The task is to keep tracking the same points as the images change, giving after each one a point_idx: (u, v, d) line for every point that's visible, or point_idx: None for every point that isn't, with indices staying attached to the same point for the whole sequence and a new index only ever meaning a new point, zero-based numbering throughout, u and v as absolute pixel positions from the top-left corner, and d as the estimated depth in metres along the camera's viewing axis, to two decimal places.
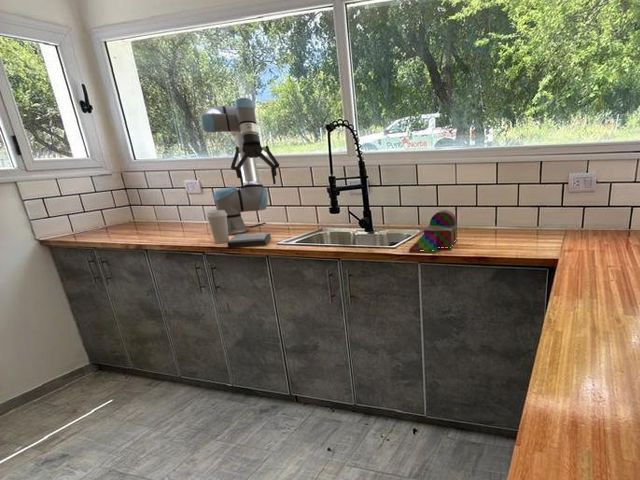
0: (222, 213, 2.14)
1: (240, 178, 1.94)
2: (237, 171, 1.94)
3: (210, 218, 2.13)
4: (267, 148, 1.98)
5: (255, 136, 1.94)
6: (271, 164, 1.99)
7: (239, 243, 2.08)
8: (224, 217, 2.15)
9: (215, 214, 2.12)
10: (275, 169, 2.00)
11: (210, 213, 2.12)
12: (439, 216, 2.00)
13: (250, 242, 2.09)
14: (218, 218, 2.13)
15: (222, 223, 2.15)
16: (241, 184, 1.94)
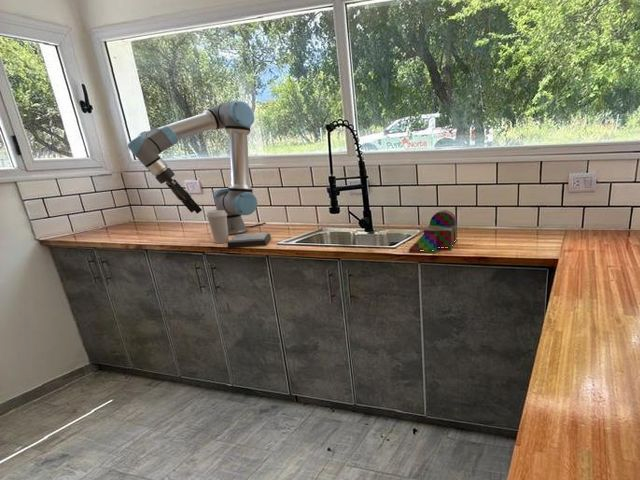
0: (222, 213, 2.14)
1: None
2: None
3: (210, 218, 2.13)
4: (171, 185, 1.96)
5: (158, 178, 1.96)
6: (184, 198, 1.99)
7: (239, 243, 2.08)
8: (224, 217, 2.15)
9: (215, 214, 2.12)
10: (189, 201, 1.99)
11: (210, 213, 2.12)
12: (439, 216, 2.00)
13: (250, 242, 2.09)
14: (218, 218, 2.13)
15: (222, 223, 2.15)
16: (191, 211, 2.14)
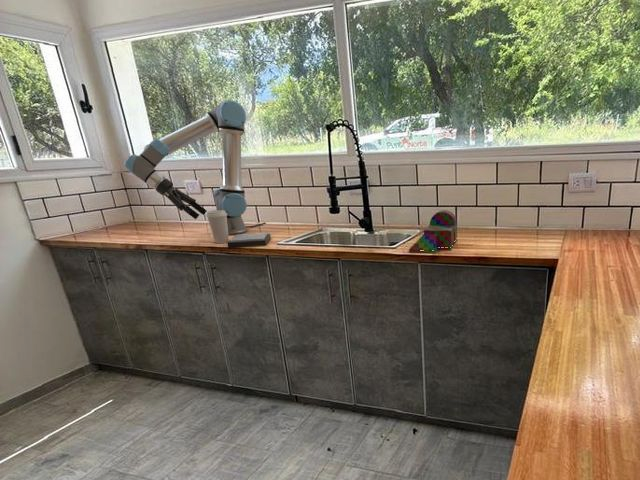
0: (222, 213, 2.14)
1: None
2: None
3: (210, 218, 2.13)
4: None
5: (157, 191, 2.06)
6: None
7: (239, 243, 2.08)
8: (224, 217, 2.15)
9: (215, 214, 2.12)
10: (184, 209, 2.05)
11: (210, 213, 2.12)
12: (439, 216, 2.00)
13: (250, 242, 2.09)
14: (218, 218, 2.13)
15: (222, 223, 2.15)
16: (203, 213, 2.21)
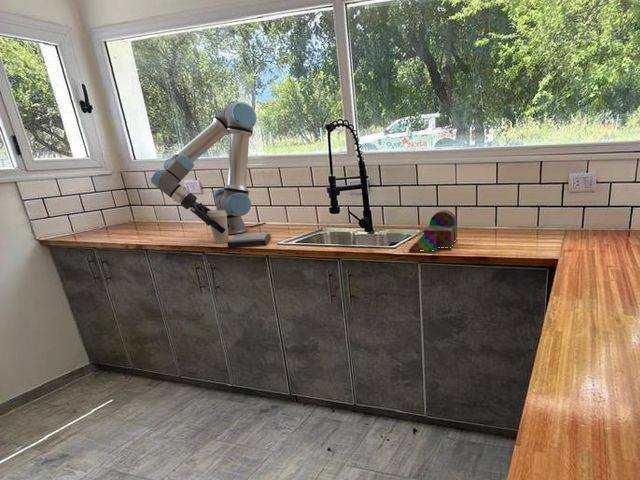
0: (222, 213, 2.14)
1: None
2: None
3: None
4: None
5: (182, 206, 2.10)
6: None
7: (239, 243, 2.08)
8: (224, 217, 2.15)
9: (215, 214, 2.12)
10: (211, 224, 2.11)
11: (210, 213, 2.12)
12: (439, 216, 2.00)
13: (250, 242, 2.09)
14: (218, 218, 2.13)
15: (222, 223, 2.15)
16: None
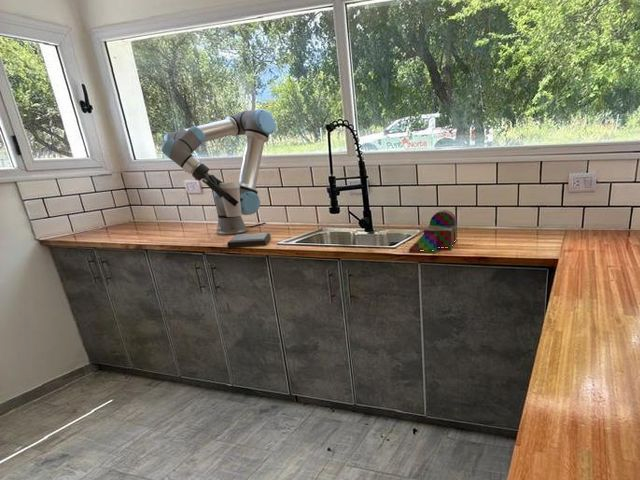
0: (235, 185, 2.06)
1: None
2: None
3: None
4: None
5: (194, 177, 2.03)
6: None
7: (239, 243, 2.08)
8: (237, 189, 2.08)
9: (228, 186, 2.04)
10: (223, 196, 2.04)
11: (222, 185, 2.05)
12: (439, 216, 2.00)
13: (250, 242, 2.09)
14: (231, 190, 2.06)
15: (235, 195, 2.08)
16: None
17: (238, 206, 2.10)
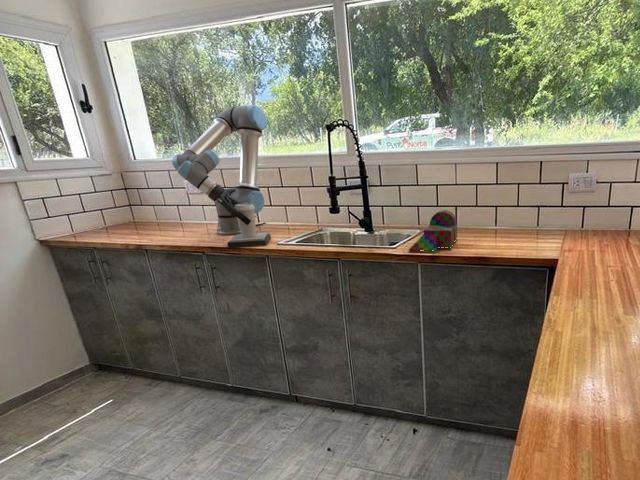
0: (250, 206, 2.09)
1: None
2: None
3: None
4: None
5: (209, 197, 2.05)
6: None
7: (239, 243, 2.08)
8: (252, 211, 2.10)
9: (243, 207, 2.07)
10: (236, 215, 2.04)
11: (238, 206, 2.07)
12: (439, 216, 2.00)
13: (250, 242, 2.09)
14: (246, 212, 2.08)
15: (250, 217, 2.10)
16: None
17: (253, 227, 2.13)
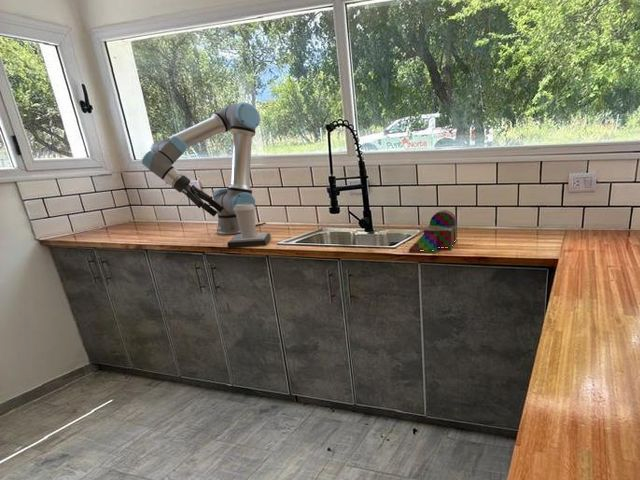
0: (250, 206, 2.09)
1: (215, 208, 2.17)
2: None
3: (238, 212, 2.08)
4: None
5: (175, 188, 2.03)
6: None
7: (239, 243, 2.08)
8: (252, 211, 2.10)
9: (243, 207, 2.07)
10: (202, 207, 2.02)
11: (238, 206, 2.07)
12: (439, 216, 2.00)
13: (250, 242, 2.09)
14: (246, 212, 2.08)
15: (250, 217, 2.10)
16: (220, 211, 2.18)
17: (253, 227, 2.13)
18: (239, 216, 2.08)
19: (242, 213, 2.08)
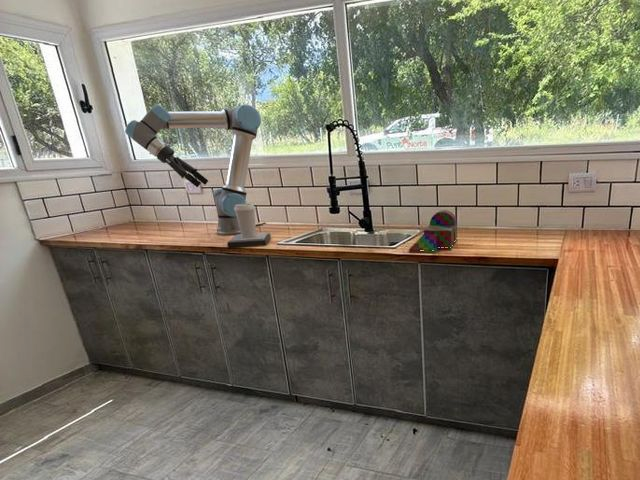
0: (250, 206, 2.09)
1: (200, 181, 2.17)
2: None
3: (238, 212, 2.08)
4: None
5: None
6: None
7: (239, 243, 2.08)
8: (252, 211, 2.10)
9: (243, 207, 2.07)
10: (185, 177, 2.02)
11: (238, 206, 2.07)
12: (439, 216, 2.00)
13: (250, 242, 2.09)
14: (246, 212, 2.08)
15: (250, 217, 2.10)
16: (205, 183, 2.18)
17: (253, 227, 2.13)
18: (239, 216, 2.08)
19: (242, 213, 2.08)
